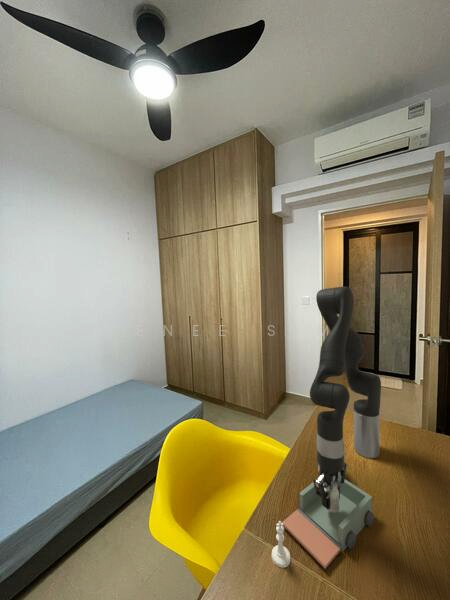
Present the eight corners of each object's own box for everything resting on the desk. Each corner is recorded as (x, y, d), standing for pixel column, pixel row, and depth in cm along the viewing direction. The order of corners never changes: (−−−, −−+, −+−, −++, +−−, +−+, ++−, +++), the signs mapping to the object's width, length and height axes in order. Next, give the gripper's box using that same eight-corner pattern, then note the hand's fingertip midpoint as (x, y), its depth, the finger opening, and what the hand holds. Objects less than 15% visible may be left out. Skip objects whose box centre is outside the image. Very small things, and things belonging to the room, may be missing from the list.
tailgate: (298, 507, 77) (282, 522, 72) (341, 546, 65) (325, 565, 61) (298, 510, 77) (282, 525, 73) (341, 549, 65) (325, 569, 61)
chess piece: (269, 548, 67) (268, 514, 67) (286, 545, 68) (285, 511, 67) (274, 569, 62) (273, 532, 62) (293, 566, 63) (292, 529, 62)
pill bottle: (326, 497, 78) (325, 474, 77) (340, 505, 75) (340, 481, 74) (321, 507, 74) (320, 483, 74) (336, 516, 71) (336, 490, 71)
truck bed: (326, 484, 87) (326, 467, 87) (376, 519, 74) (376, 499, 73) (296, 509, 78) (296, 490, 78) (347, 555, 65) (347, 532, 64)
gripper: (332, 433, 80) (333, 482, 82) (304, 452, 72) (305, 506, 74) (355, 445, 74) (355, 498, 75) (327, 467, 66) (328, 526, 67)
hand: (331, 502), depth 74 cm, fingers closed on pill bottle, 4 cm apart
